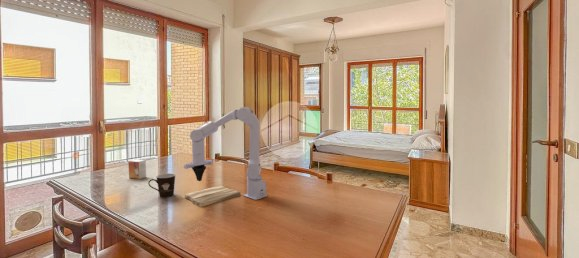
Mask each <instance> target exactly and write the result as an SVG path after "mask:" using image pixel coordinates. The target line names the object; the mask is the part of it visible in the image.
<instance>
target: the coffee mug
mask: <svg viewBox="0 0 579 258" xmlns="http://www.w3.org/2000/svg"><path fill="white" fill-rule="evenodd" d="M151 181H154V182H155V183H156V184H157V187H158V188H156V187H153V186H152V185H151V184H150V182H151ZM175 182H176V174H175V173H161V174H158V175H157V176H156V179H155V178H152V179H150V180H149V181H148V183H147V184H148V186H149V187H150V188H151V189H154V190H155V191H157V192H158V194H159V197H160V198H170V197H172V196H174V194H175V193H174V192H175V185H176V183H175Z"/></svg>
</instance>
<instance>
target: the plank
mask: <svg viewBox="0 0 579 258" xmlns="http://www.w3.org/2000/svg"><path fill="white" fill-rule="evenodd" d="M227 190H230V189H229V188H228V187H226V186H223V185H216V186H212V187H209V188H205V189H201V190H196V191H192V192H189V193H185V194H184V198H185V199H187V200H189V201H191V202H193V200H194V199H198V198H201V197H205V196H208V195H212V194H216V193H219V192H223V191H227Z"/></svg>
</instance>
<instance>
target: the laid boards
mask: <svg viewBox="0 0 579 258" xmlns="http://www.w3.org/2000/svg"><path fill="white" fill-rule="evenodd" d="M241 195H242V194H241V191H239V190H236V189H233V188H231V189H229V190H227V191H223V192H219V193H216V194H212V195H208V196H205V197H201V198H198V199H194V200H193V201H192V204H194V205H195V206H198V207H200V208H202V207H205V206H209V205H212V204H215V203H218V202H219V203H220V202H222V201H225V200H228V199H229V200H230V199H232V198H235V197H239V196H241Z"/></svg>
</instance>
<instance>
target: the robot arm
mask: <svg viewBox="0 0 579 258" xmlns="http://www.w3.org/2000/svg"><path fill="white" fill-rule="evenodd" d="M233 120H234V121H236V120H237V121H240V122H243V123H244V124H246V125H247V126H248V127H249V152H248V153H249V155H248V158H249V159H248V165H247V166H248V168H247V169H246V172H245V173H246V193H244V194H243V196H244V197H246V198H249V199H251V200H253V201H257V200H259V199H260V200H261V199H262V198H266V197H268V194H267V182H266V181H265V180H263V179H262V175H261V173H262V171H263V170H262V166H261V159H260V143H261V142H260V139H261V136H260V135H261V134H260V133H261V122H260V121H259V119H258V116H257V115H256V113H255V111H254V110H253V109H251V108H250V107H248V106H244V107H242V106H241V107H239V108H238V109H234V110H232V111H229V112H228V113H226V114H225V115H224V116H222V117H219V119H217V120H215V121H214V120H207V121H206V122H205V124H203V125H202V126H201V125H200V126H198V127H197V128H196V129H192V131H190V134H189V138H190V140H191V149H192V151H191V152H192V155H191V156H192V162H189V163H188V162H187V163H184V164H183V168H184V170H185V169H186V170H188V169H190V168H191V169H192V171H193V172H194V175H195V178H196V181H198V182H202V180H203V179H202V178H203V176H204V173H205V170H206V169H207V166H208V165H213V164H214V163H213V160H212V159H208V160H207V159H205V158H206V157H205V153H206V152H205V138H207V137H210V136H211V135H212V134H214V133H217V132H218V130H219V127H221V126H223V125H225V124H226V123H229V122H230V121H233Z"/></svg>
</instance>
